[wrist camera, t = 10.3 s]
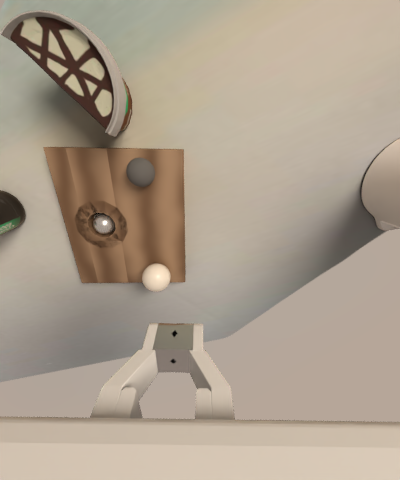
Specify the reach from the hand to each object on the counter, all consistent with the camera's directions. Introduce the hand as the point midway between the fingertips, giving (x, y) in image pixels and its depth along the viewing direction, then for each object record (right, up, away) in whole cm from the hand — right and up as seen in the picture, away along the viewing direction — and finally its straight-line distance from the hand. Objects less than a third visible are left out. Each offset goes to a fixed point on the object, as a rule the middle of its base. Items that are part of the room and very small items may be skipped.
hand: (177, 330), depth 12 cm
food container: (-11, +27, +17) cm, 34 cm away
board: (-12, +9, +26) cm, 29 cm away
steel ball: (-15, +8, +24) cm, 30 cm away
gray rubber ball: (-7, +15, +18) cm, 24 cm away
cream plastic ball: (-7, -2, +25) cm, 26 cm away
